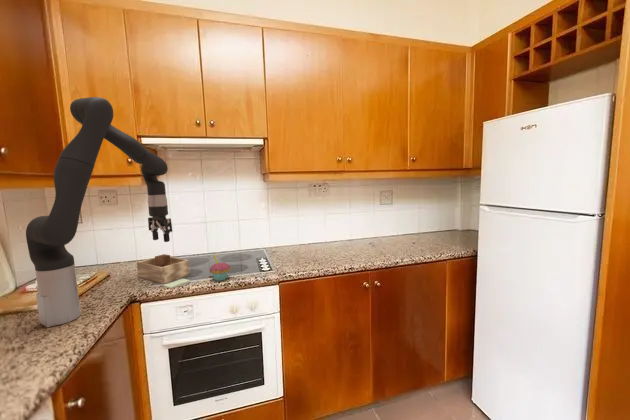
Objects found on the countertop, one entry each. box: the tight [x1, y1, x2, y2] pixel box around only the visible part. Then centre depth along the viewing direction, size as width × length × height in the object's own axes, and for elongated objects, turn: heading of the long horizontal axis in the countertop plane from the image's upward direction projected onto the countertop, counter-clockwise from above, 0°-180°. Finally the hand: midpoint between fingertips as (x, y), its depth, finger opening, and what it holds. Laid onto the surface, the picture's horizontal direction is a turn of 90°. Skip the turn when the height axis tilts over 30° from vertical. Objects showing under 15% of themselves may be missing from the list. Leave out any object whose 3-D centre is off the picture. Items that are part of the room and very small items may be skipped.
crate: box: [136, 256, 191, 285], centre depth 132 cm, size 13×19×7 cm
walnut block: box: [154, 253, 171, 267], centre depth 132 cm, size 4×4×7 cm
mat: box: [162, 278, 191, 289], centre depth 122 cm, size 9×5×1 cm, turn 149°
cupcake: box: [209, 252, 231, 282], centre depth 127 cm, size 9×8×12 cm
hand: (161, 240), depth 131 cm, fingers open, 8 cm apart
